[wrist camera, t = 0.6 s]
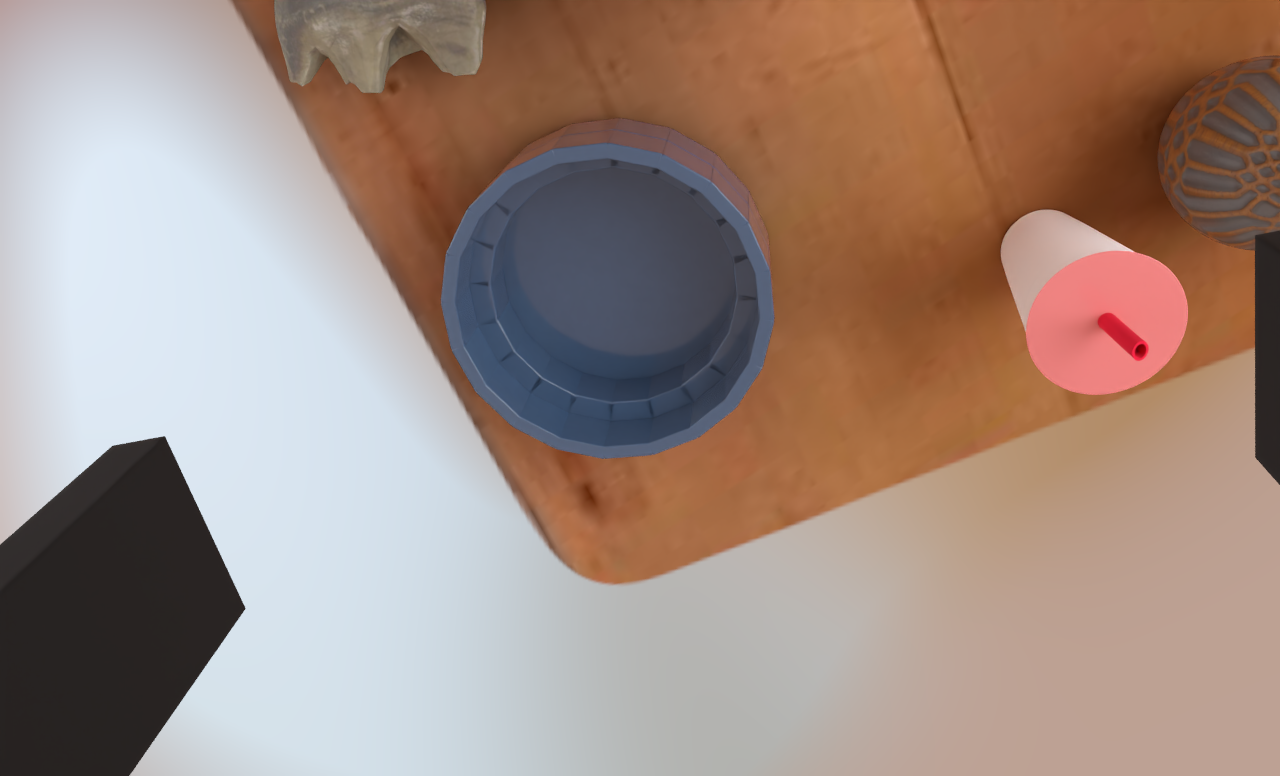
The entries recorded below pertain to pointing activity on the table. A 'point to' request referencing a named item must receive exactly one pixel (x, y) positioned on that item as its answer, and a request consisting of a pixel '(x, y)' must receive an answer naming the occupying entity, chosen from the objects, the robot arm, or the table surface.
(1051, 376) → the cup
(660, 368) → the bowl
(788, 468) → the table surface
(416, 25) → the grey rock
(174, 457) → the robot arm
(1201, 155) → the vase
